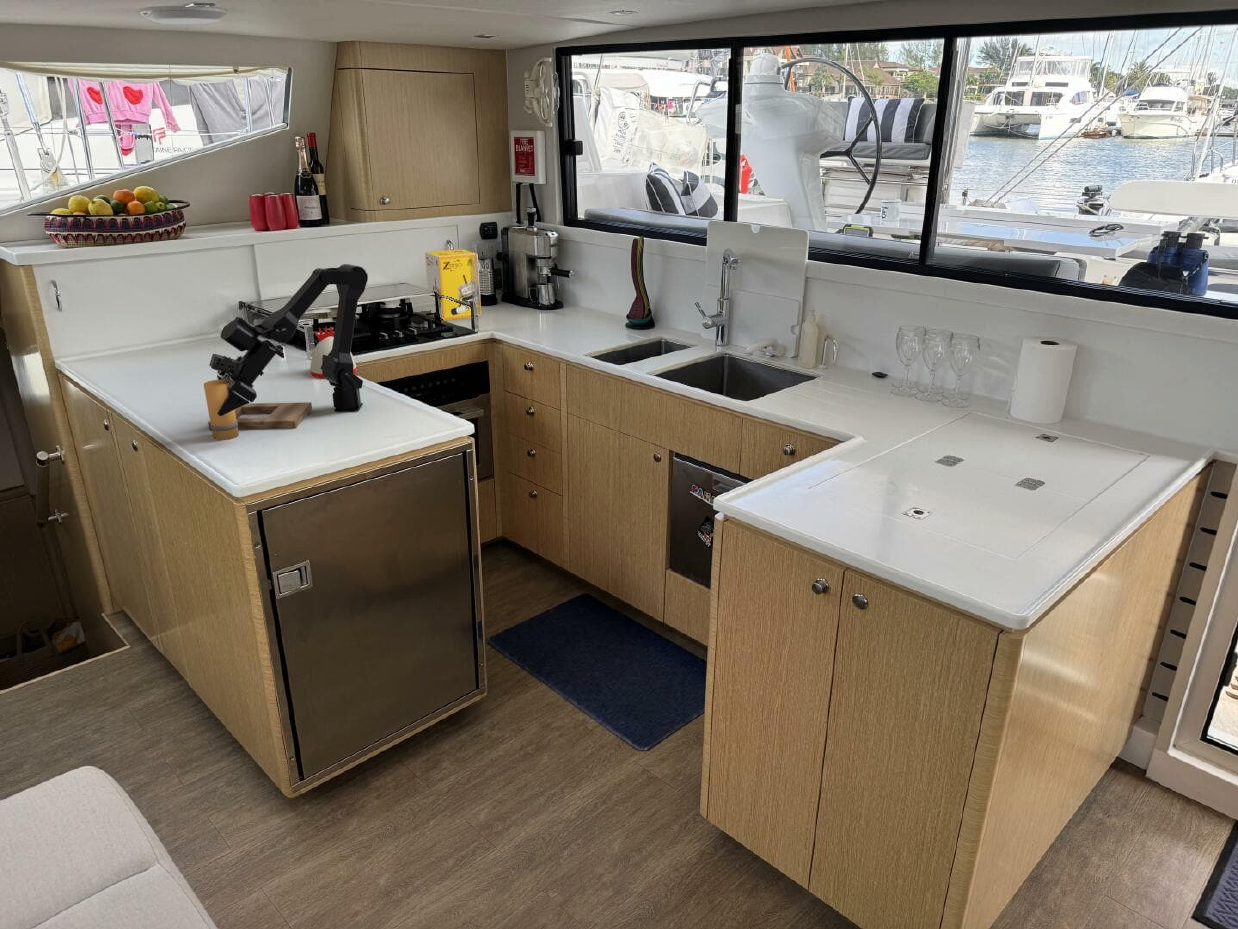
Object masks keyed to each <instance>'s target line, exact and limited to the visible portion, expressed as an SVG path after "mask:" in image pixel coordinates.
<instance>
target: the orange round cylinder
mask: <svg viewBox="0 0 1238 929" xmlns="http://www.w3.org/2000/svg"><path fill="white" fill-rule="evenodd" d="M229 383H230V381H229V380H218V379H214V380H208V381H206V382H204V383H203V389H204V394H205V400H206V405H207V410H208V416H209V421H210V422H211V423H210V427H211V430H210V431H212V433H211V434H212V438H213V440H217V441H227V440H231V439H235V438H237V437H239V436H240V432H239V429H238V421H237V420H236V415H235V410H233V411H231V412H229V413H227V414H225V415H223V416H219V415H218V414H217V413H218V411H219V409H220V407H221V406H222V404H223V402H224V400H225V399H226V397H227V395H228V394H227V387H228V388H230V387H229Z"/></svg>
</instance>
